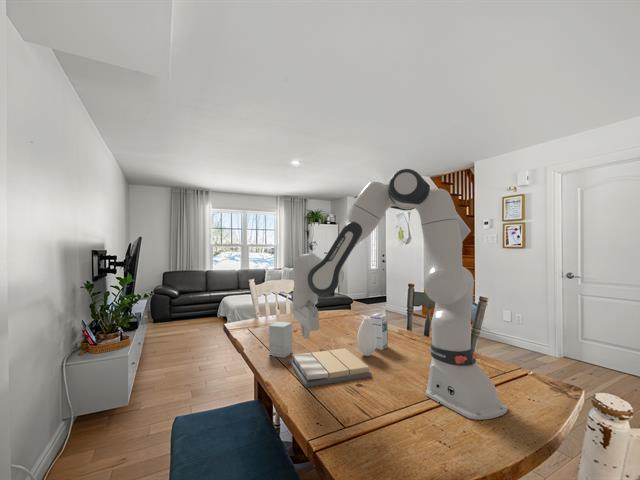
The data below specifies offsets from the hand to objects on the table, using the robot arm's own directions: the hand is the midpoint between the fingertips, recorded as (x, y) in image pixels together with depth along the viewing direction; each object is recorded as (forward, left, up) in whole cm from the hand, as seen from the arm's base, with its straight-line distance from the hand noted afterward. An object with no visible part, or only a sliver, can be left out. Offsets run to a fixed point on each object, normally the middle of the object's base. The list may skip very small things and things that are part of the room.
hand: (305, 337), depth 108 cm
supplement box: (+21, +4, -13) cm, 25 cm away
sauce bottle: (+7, -29, -13) cm, 32 cm away
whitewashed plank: (0, -1, -11) cm, 11 cm away
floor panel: (0, -9, -13) cm, 15 cm away
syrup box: (+14, -39, -13) cm, 43 cm away
